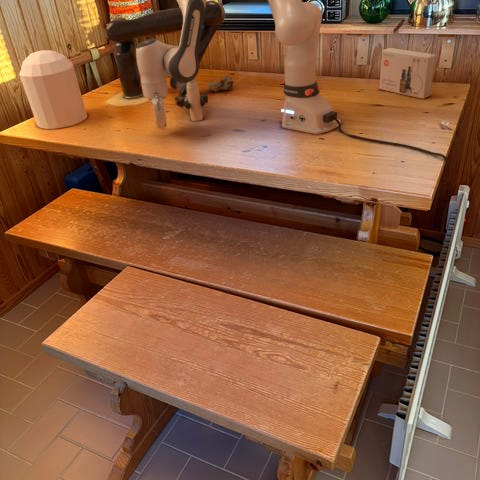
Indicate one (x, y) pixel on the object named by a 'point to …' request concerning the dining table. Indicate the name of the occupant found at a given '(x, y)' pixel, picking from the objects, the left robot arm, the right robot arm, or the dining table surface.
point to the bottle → (194, 100)
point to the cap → (159, 126)
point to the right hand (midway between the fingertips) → (162, 126)
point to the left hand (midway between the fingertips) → (196, 105)
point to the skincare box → (407, 72)
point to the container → (52, 90)
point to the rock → (221, 84)
